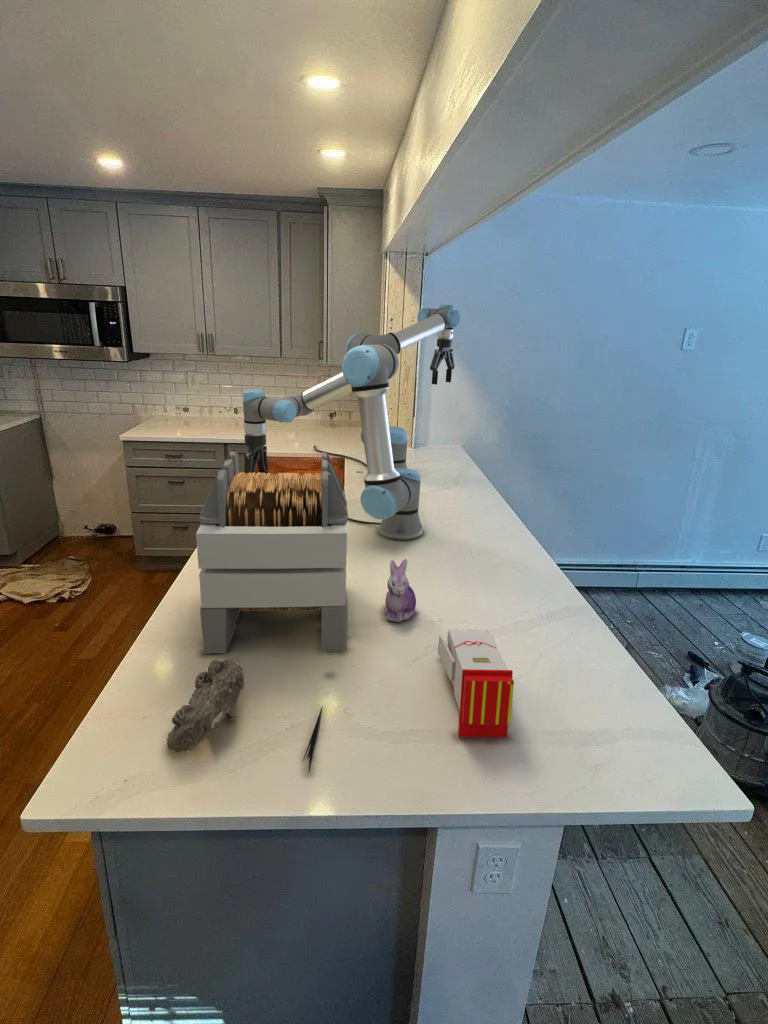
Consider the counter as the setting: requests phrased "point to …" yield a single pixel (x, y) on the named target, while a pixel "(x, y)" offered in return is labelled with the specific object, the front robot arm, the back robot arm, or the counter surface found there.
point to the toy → (478, 682)
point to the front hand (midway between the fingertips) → (257, 494)
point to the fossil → (206, 705)
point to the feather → (313, 740)
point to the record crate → (273, 550)
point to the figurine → (399, 594)
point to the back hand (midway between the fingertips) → (441, 383)
